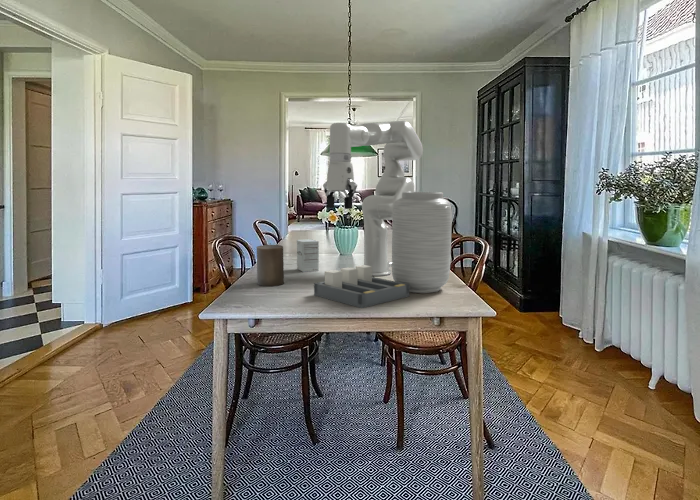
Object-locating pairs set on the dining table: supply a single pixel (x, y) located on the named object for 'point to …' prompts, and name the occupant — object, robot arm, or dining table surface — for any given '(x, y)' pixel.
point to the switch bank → (363, 292)
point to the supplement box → (308, 255)
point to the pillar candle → (270, 265)
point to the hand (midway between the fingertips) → (339, 208)
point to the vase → (421, 241)
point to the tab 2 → (364, 272)
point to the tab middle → (350, 275)
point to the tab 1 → (333, 278)
